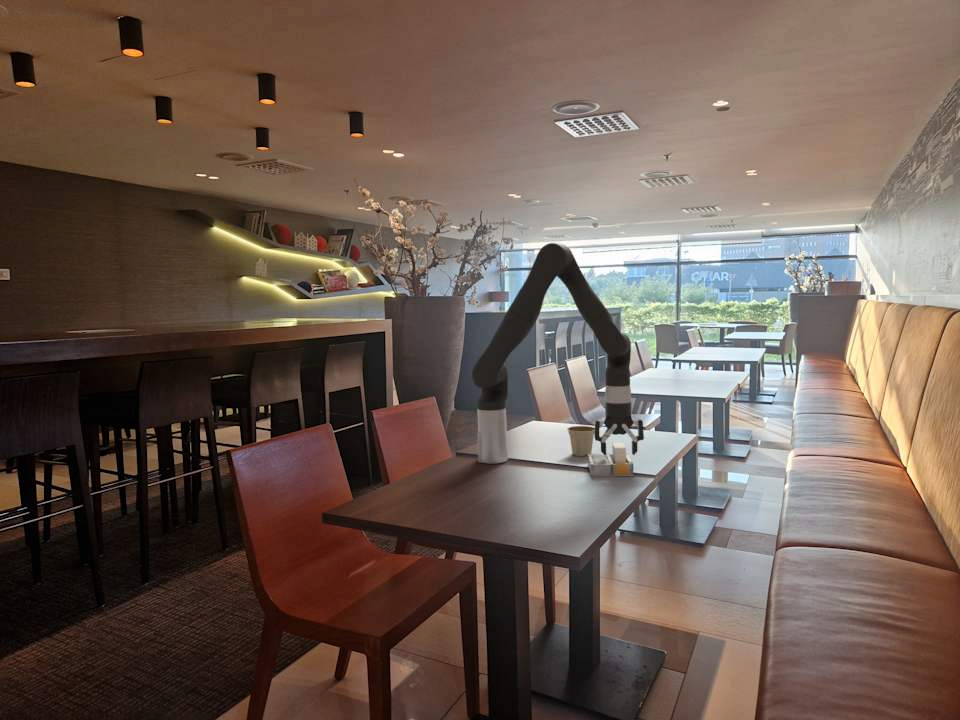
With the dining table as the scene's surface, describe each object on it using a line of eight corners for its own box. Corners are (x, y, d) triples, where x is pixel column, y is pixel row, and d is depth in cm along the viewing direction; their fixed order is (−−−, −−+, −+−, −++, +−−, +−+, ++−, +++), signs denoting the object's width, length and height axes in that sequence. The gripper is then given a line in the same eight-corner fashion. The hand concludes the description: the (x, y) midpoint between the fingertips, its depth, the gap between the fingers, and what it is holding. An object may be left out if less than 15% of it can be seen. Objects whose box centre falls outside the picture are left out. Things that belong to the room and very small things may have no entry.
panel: (615, 472, 182) (615, 448, 182) (612, 465, 190) (612, 442, 190) (626, 472, 182) (625, 448, 181) (622, 465, 190) (622, 442, 189)
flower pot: (595, 450, 212) (594, 425, 211) (597, 457, 202) (597, 431, 202) (567, 451, 213) (566, 426, 212) (568, 457, 203) (567, 431, 203)
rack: (591, 477, 180) (591, 464, 180) (588, 465, 194) (587, 453, 193) (633, 476, 179) (633, 463, 179) (627, 464, 192) (627, 452, 192)
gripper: (594, 402, 181) (595, 457, 183) (644, 401, 180) (645, 457, 181) (592, 398, 189) (593, 451, 190) (640, 397, 187) (641, 451, 189)
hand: (619, 454), depth 186 cm, fingers open, 8 cm apart
